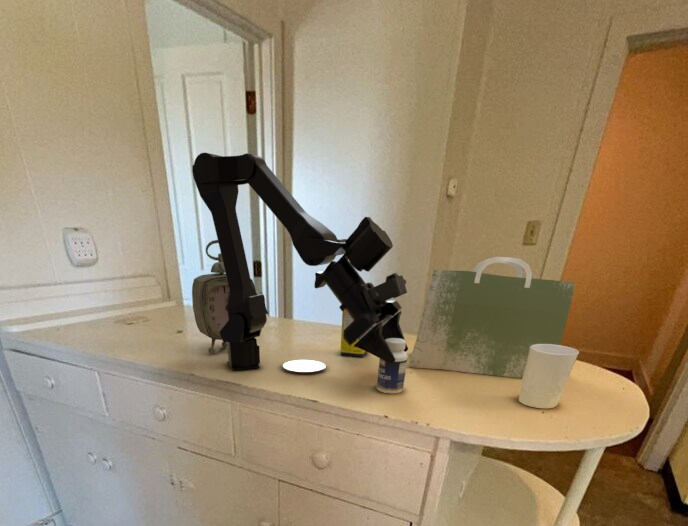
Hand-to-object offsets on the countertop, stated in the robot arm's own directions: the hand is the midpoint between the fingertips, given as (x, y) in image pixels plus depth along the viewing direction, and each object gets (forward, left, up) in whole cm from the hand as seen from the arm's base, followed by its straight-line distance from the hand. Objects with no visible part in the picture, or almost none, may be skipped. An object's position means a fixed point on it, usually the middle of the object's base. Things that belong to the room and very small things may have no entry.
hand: (400, 356), depth 83 cm
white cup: (+22, -15, -7) cm, 28 cm away
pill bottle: (-1, +1, -7) cm, 7 cm away
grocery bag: (+28, +9, -7) cm, 30 cm away
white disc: (-12, +21, -7) cm, 25 cm away
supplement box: (+5, +29, -7) cm, 30 cm away
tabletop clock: (-25, +44, -7) cm, 51 cm away
